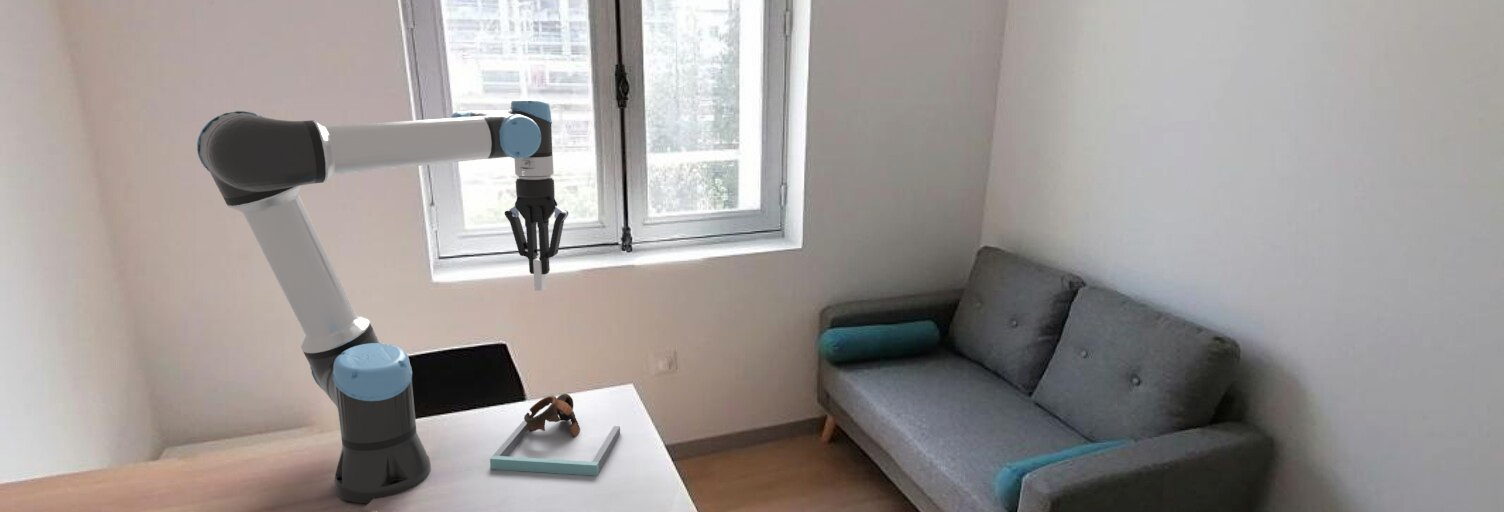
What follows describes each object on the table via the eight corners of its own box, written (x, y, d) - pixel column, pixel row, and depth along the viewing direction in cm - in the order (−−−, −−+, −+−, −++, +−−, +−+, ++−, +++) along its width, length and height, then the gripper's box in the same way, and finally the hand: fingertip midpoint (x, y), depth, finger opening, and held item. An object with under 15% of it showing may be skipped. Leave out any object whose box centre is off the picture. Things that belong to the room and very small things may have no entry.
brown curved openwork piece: (574, 446, 148) (550, 414, 145) (535, 461, 151) (511, 429, 148) (594, 408, 159) (572, 376, 156) (557, 422, 162) (535, 392, 159)
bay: (490, 469, 139) (489, 458, 139) (523, 430, 154) (523, 420, 154) (597, 475, 137) (596, 465, 137) (620, 435, 152) (619, 426, 152)
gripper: (495, 178, 156) (503, 292, 161) (559, 180, 154) (564, 295, 160) (510, 173, 163) (517, 282, 168) (571, 175, 162) (576, 285, 167)
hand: (540, 288), depth 164 cm, fingers closed
